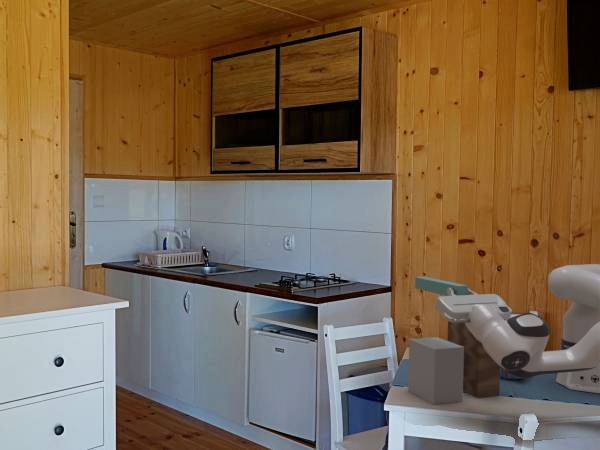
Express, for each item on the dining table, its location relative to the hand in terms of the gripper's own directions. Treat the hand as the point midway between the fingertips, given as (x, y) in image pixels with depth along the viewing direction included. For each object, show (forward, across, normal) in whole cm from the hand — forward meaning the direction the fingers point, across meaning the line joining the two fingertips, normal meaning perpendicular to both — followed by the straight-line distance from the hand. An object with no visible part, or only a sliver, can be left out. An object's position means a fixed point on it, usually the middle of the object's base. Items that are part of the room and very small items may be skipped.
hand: (456, 289), depth 180 cm
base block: (-8, 0, -34) cm, 35 cm away
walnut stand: (-6, +15, -35) cm, 39 cm away
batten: (+6, 0, -6) cm, 8 cm away
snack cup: (0, +36, -39) cm, 53 cm away
